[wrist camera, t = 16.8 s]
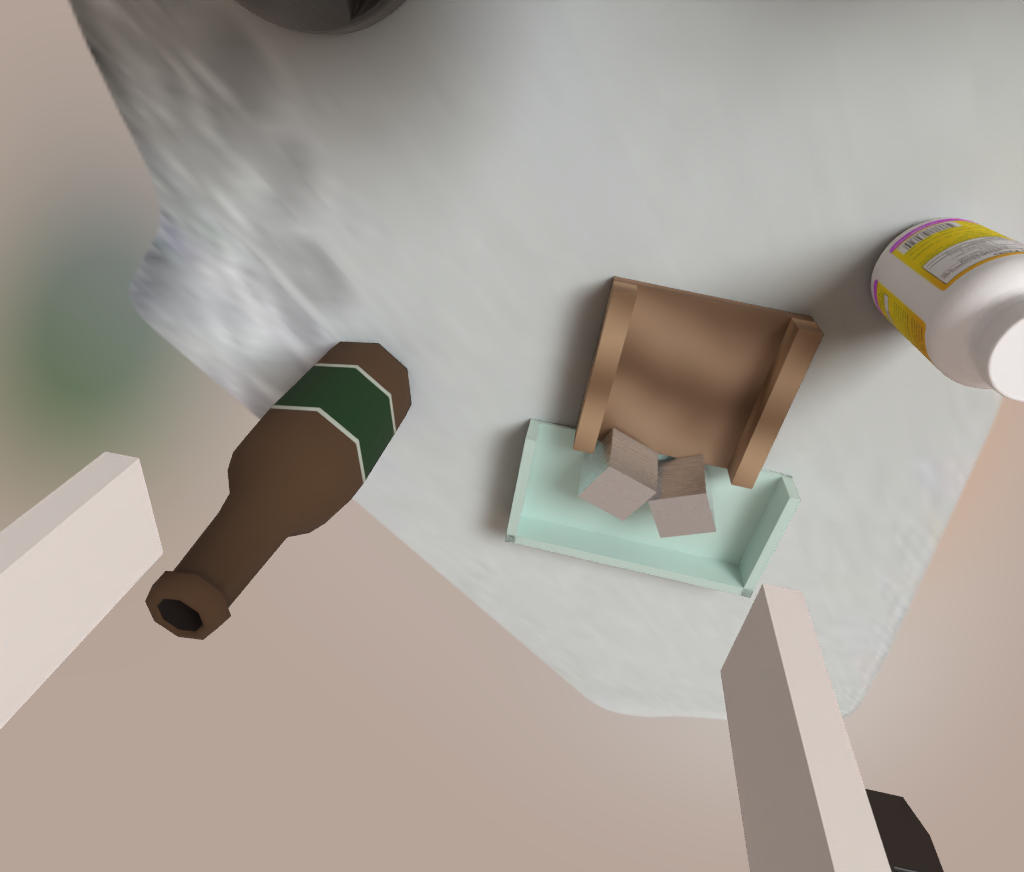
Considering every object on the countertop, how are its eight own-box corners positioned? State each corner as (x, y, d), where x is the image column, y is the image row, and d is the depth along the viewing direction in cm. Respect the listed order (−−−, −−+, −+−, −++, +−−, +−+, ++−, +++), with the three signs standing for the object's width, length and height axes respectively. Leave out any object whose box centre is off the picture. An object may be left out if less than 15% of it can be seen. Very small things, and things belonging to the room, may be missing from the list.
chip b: (648, 462, 47) (648, 500, 44) (702, 454, 45) (706, 493, 42) (659, 499, 49) (660, 537, 46) (712, 492, 48) (716, 531, 45)
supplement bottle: (946, 335, 39) (1066, 441, 29) (846, 305, 39) (928, 400, 29) (1017, 231, 36) (1186, 308, 25) (907, 199, 36) (1028, 261, 25)
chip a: (613, 427, 45) (609, 466, 42) (658, 453, 46) (657, 492, 43) (583, 458, 48) (577, 496, 45) (626, 481, 49) (623, 520, 46)
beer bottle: (428, 360, 46) (272, 595, 26) (401, 440, 50) (248, 695, 30) (330, 319, 46) (94, 525, 26) (311, 402, 50) (95, 637, 30)
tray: (530, 418, 47) (525, 439, 45) (791, 476, 46) (801, 500, 44) (510, 517, 53) (504, 540, 50) (744, 571, 52) (750, 597, 49)
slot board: (614, 276, 41) (613, 290, 38) (811, 316, 40) (823, 334, 38) (575, 428, 47) (572, 449, 45) (745, 465, 46) (752, 489, 44)
